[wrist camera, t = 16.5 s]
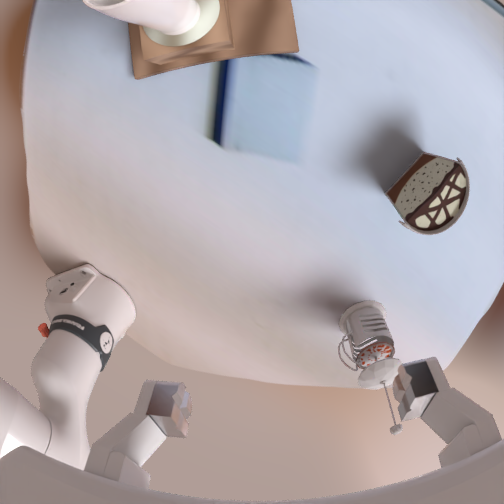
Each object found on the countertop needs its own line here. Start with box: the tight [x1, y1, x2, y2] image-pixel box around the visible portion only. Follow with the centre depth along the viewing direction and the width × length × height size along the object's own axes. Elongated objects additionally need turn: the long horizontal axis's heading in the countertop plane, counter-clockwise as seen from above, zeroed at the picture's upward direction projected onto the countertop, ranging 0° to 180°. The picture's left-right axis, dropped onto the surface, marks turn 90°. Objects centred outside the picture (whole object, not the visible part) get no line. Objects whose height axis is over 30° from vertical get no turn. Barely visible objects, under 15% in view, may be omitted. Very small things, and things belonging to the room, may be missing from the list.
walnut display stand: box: [128, 0, 299, 79], centre depth 25 cm, size 22×16×8 cm
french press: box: [338, 301, 403, 435], centre depth 42 cm, size 10×12×25 cm
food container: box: [385, 152, 470, 235], centre depth 35 cm, size 12×6×10 cm, turn 142°
